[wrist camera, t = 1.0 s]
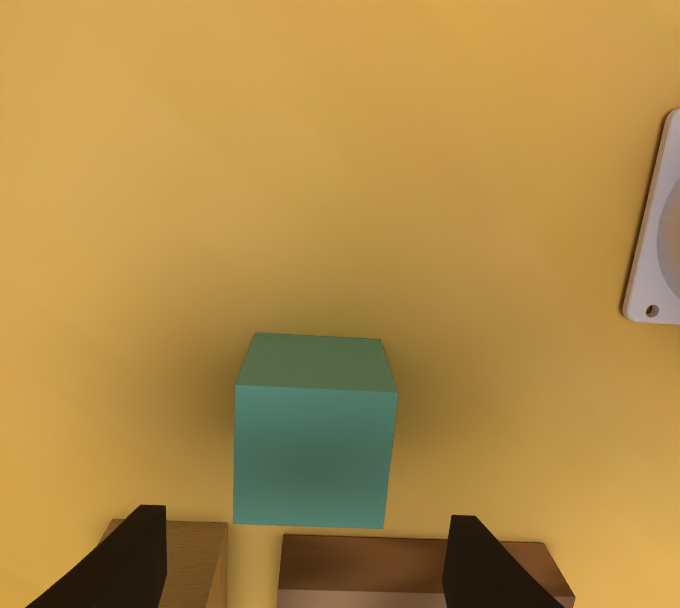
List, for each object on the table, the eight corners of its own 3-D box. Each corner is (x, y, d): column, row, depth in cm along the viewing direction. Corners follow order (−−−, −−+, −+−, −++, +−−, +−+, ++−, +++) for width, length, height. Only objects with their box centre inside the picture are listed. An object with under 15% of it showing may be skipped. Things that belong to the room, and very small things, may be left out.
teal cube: (379, 338, 20) (398, 392, 16) (369, 447, 22) (382, 528, 17) (255, 331, 20) (235, 384, 15) (252, 442, 21) (232, 523, 17)
